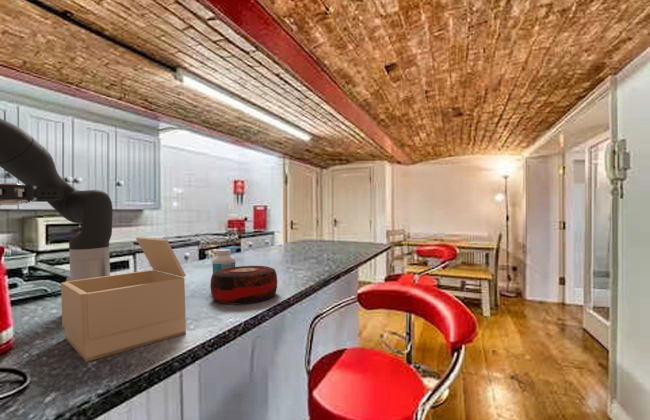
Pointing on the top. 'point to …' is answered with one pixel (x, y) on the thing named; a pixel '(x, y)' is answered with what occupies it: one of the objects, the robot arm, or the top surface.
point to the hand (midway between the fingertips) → (59, 195)
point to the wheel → (243, 284)
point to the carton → (122, 312)
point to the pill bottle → (223, 260)
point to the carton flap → (160, 255)
